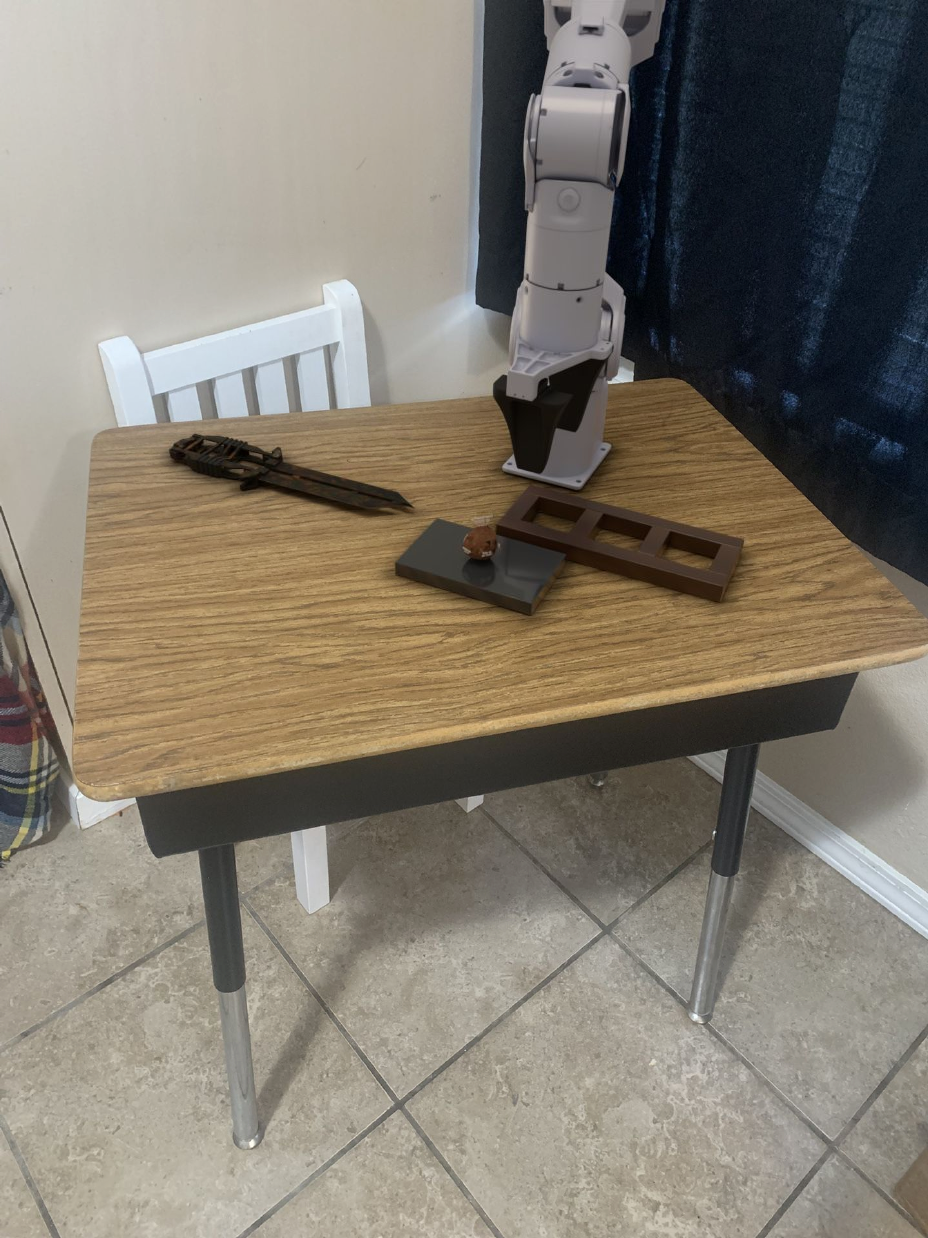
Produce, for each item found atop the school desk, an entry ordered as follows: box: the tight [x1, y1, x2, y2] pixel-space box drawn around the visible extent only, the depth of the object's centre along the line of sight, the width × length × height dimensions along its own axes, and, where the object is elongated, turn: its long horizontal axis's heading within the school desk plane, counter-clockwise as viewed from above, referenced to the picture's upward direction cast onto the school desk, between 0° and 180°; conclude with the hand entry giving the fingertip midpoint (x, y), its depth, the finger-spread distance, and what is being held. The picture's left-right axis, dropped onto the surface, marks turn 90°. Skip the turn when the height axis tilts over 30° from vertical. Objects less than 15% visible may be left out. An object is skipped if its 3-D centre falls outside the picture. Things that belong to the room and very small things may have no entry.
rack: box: [495, 484, 745, 603], centre depth 83 cm, size 8×20×2 cm, turn 65°
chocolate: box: [462, 513, 500, 560], centre depth 78 cm, size 3×2×4 cm
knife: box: [168, 433, 415, 510], centre depth 90 cm, size 25×6×1 cm, turn 60°
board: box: [394, 517, 567, 616], centre depth 80 cm, size 8×12×1 cm, turn 65°
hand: (548, 448), depth 78 cm, fingers open, 7 cm apart
